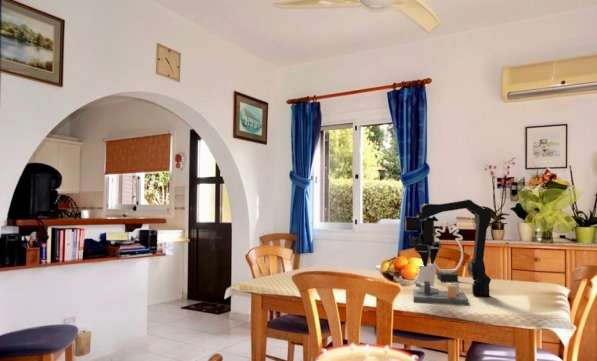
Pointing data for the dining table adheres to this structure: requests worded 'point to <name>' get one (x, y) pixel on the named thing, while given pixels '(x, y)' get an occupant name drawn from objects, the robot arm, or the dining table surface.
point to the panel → (438, 296)
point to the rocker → (424, 287)
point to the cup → (427, 274)
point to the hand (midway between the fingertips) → (428, 265)
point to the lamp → (448, 273)
